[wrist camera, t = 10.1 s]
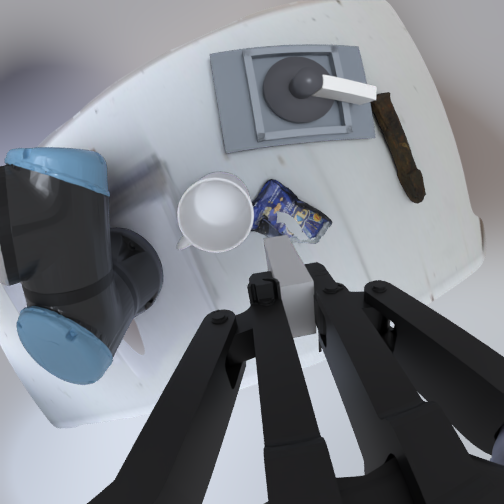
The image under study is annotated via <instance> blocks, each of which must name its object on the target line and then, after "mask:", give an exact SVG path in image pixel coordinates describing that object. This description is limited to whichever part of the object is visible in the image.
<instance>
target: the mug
mask: <svg viewBox="0 0 504 504" xmlns="http://www.w3.org/2000/svg"><path fill="white" fill-rule="evenodd" d="M253 220H254V210H253V205H252V202H251V198H250V195H249V192H248V189H247V187H246V186H245V184H244V183H243V182H242V181H241V180H240V179H239V178H238V177H236V176H235V175H233V174H230V173H227V172H214V173H210V174H208V175H206V176H204V177H202V178H201V179H200V180H198V181H197V182H195V183H194V184H193V185H191V186H190V187H189V188H188V189H187V190H186V191H185V192H184V194H183V195H182V197H181V199H180V201H179V204H178V209H177V221H178V225H179V228H180V230H181V232H182V234H183V236H182V237H181V239H180V240H179V242H178V244H177V246H176V248H177V249H178V250H182V249H185V248H187V247H189V246H191V245H193V246H195V247H196V248H198V249H200V250H203V251H207V252H213V253H218V252H225V251H228V250H231V249H233V248H235V247H237V246H238V245H239V244H241V243H242V242H243V241H244V240H245V239H246V237H247V236H248V234H249V233H250V231H251V228H252V225H253Z"/></svg>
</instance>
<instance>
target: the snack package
mask: <svg viewBox="0 0 504 504" xmlns="http://www.w3.org/2000/svg"><path fill="white" fill-rule="evenodd" d="M256 202H258V203H257V204H256V206H255V207H253V210H254V220H253V225H252V228H251V231H256V232H259V233H261V234H264V235H266V236H267V237H268V238H270V237H276V236H283V235H287V236H288V237H289V239H290V241H291V242H298V243H303V242H306V243H311V244H312V243H313V244H316V243H318V242H319V239H320V238H321V236H324V234H325V232H326V231H327V229H328V227H330V226H331V224H332V221H331V219H329V218H328V217H327V216H326V215H325V214H323V213H322V212H321V211H319V210H317V209H316V208H313V207H312V206H310V205H308V204H307V203H305V202H303V201H301V200H300V199H298V197H297V196H296V195H295V194H294V193H293V192H292V191H291V190H290V189H289V188H287V187H285V186H284V185H282V184H281V183H280V182H278V181H277V180H274V179H271V180H268V181H267V182H266V183H265V185H264V187H263V188H262V190H261V192H260V193H259V195H258V196H257V198H256V199H255V200H254V202H253V203H252V205H253V206H254V205H255V203H256ZM276 211H280V212H283V213H287V214H289V215H290V216H292V217H293V218H294V219H295V220H296V221H297V222H298V224H299V225H300V226H301V228H302V230H303V231H302V232H305V234H306V235H307V236H308V237H309V239H308V240H299V239H298V238H297V237H295V236H294V234H293V233H291V232H290V231H289V230H288V228H287V227H286V226H285V224H284V223H276V221H277V213H276ZM314 237H316V238H315V239H314V240H311V238H314Z"/></svg>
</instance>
